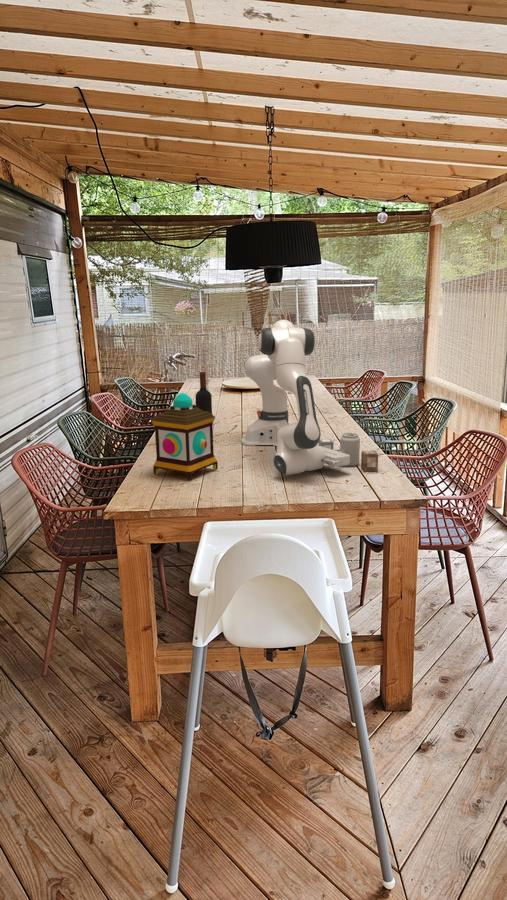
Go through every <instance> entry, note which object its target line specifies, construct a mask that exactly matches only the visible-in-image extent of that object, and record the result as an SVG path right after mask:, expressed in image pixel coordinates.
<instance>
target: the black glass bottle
mask: <svg viewBox="0 0 507 900" xmlns="http://www.w3.org/2000/svg"><path fill="white" fill-rule="evenodd" d="M203 372H206V389H207V390H208V391H209V392H210V390H209V382H210V378H209V366H207V365H204V366H203ZM220 423H221V421H220V419H218V418H216V417H215V419H214V421H213V425H217V424H220Z"/></svg>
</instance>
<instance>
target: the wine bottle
mask: <svg viewBox="0 0 507 900" xmlns="http://www.w3.org/2000/svg"><path fill="white" fill-rule="evenodd" d="M212 399H213V398H212V393H211V392H210V390H209V391H208V390H207V389H206V372H204V371H200V372H199V390H198V391H197V392H196V393H195V405H196V407H198V408H200V410H203V411H207V412H209V413H210V414H213V401H212Z"/></svg>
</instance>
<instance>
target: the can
mask: <svg viewBox="0 0 507 900" xmlns="http://www.w3.org/2000/svg"><path fill="white" fill-rule="evenodd" d="M339 441H340V442H339V443H340V444H339V449H340V450H343V451H345V454H349V455H350V463H349V464H348V465H343V466H344V467H356V466H357V465H358V464H360V452H361V451H360V448H361V438H360V437H359V433H355V432H344V433H341V436H340V437H339Z"/></svg>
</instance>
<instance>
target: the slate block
mask: <svg viewBox="0 0 507 900" xmlns="http://www.w3.org/2000/svg"><path fill="white" fill-rule="evenodd" d="M318 445H319V446H322V447H325V448H329V449H332V450H334V441H333V439H331V438H329V439H328V438H327V439H320V440H319V443H318Z"/></svg>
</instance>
